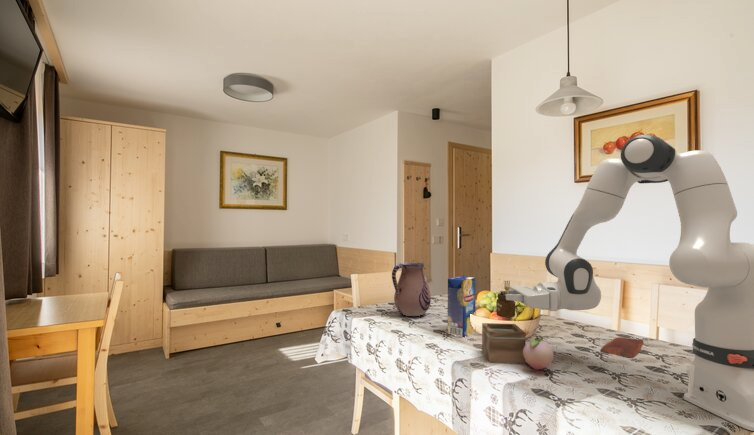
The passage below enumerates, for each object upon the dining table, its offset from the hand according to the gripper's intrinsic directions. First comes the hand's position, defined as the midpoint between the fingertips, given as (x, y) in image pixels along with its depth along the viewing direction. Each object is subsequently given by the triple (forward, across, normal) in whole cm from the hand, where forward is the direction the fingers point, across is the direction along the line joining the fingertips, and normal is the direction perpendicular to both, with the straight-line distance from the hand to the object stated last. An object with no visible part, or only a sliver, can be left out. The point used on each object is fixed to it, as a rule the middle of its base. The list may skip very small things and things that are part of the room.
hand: (502, 295), depth 123 cm
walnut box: (0, 0, +20) cm, 20 cm away
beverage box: (+9, -26, +20) cm, 35 cm away
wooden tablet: (-47, -15, +21) cm, 54 cm away
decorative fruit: (-7, +11, +20) cm, 24 cm away
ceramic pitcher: (+29, -54, +20) cm, 65 cm away
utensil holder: (-1, 0, +7) cm, 7 cm away
